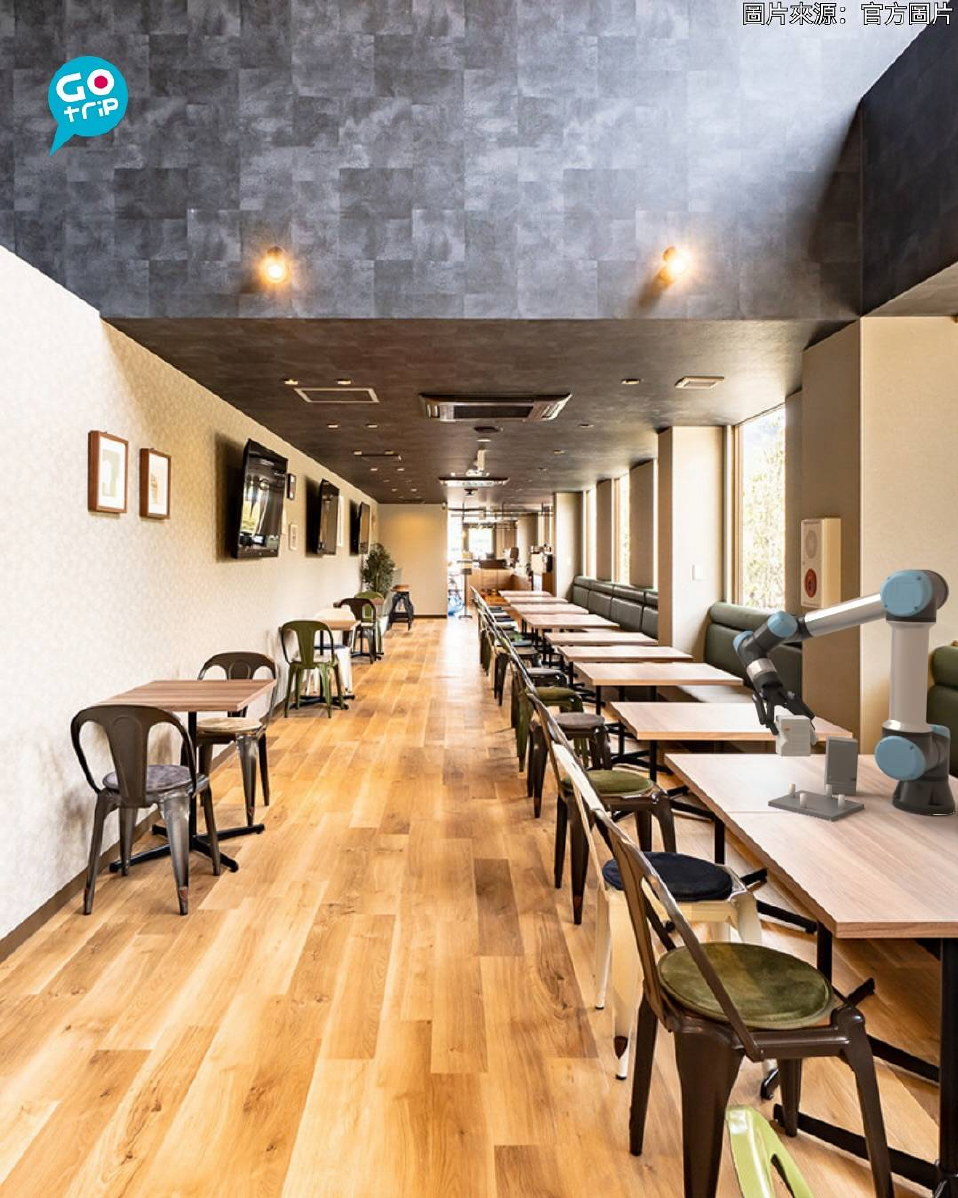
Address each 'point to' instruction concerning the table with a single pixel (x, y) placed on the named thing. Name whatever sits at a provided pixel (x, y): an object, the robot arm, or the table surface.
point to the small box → (794, 735)
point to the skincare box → (841, 765)
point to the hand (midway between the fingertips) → (800, 743)
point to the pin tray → (816, 804)
